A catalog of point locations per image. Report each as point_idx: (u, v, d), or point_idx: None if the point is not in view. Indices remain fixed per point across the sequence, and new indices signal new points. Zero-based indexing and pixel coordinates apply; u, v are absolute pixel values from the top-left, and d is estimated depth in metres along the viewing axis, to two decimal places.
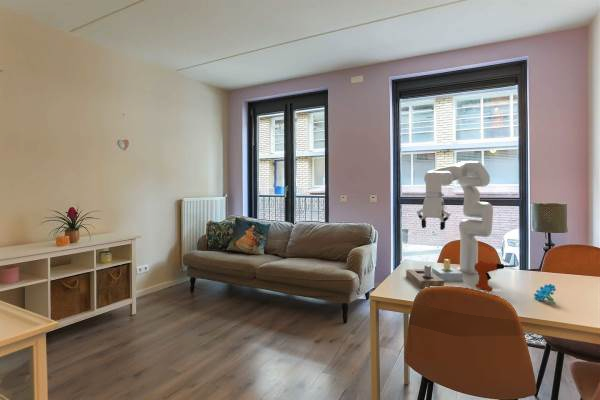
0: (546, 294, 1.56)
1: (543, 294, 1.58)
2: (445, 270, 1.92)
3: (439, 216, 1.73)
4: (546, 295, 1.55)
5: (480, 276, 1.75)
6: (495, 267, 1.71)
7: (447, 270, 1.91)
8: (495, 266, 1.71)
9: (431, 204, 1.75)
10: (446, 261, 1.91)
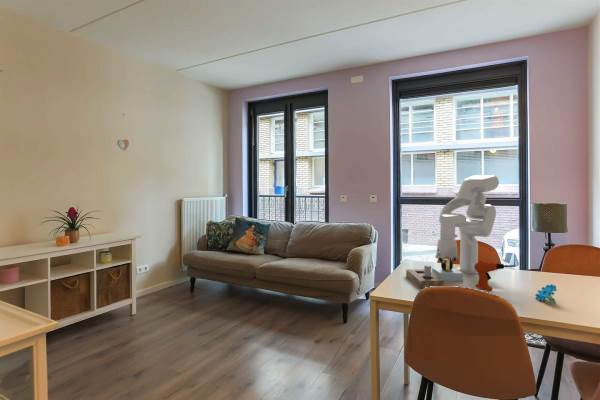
0: (547, 294, 1.56)
1: (544, 294, 1.58)
2: (445, 270, 1.92)
3: (456, 255, 1.90)
4: (547, 295, 1.55)
5: (480, 276, 1.75)
6: (495, 267, 1.71)
7: (447, 270, 1.91)
8: (495, 266, 1.71)
9: (449, 245, 1.90)
10: (446, 261, 1.91)
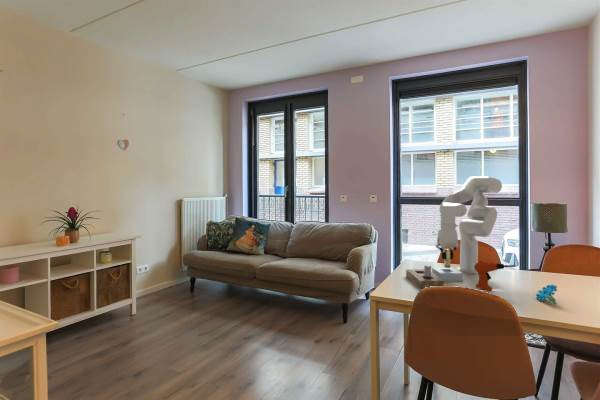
0: (547, 294, 1.56)
1: (544, 294, 1.57)
2: (445, 260, 1.92)
3: (456, 245, 1.90)
4: (547, 295, 1.55)
5: (480, 276, 1.75)
6: (495, 267, 1.71)
7: (447, 260, 1.91)
8: (495, 266, 1.71)
9: (450, 234, 1.89)
10: (446, 251, 1.91)
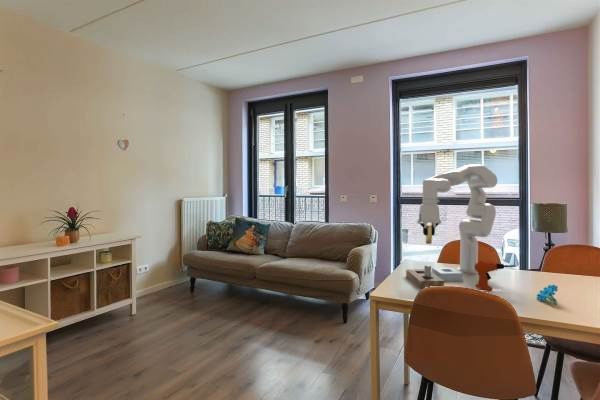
0: (548, 294, 1.56)
1: (545, 294, 1.57)
2: (427, 236, 1.88)
3: (438, 220, 1.87)
4: (547, 295, 1.55)
5: (480, 276, 1.75)
6: (495, 267, 1.71)
7: (429, 235, 1.88)
8: (495, 266, 1.71)
9: (431, 210, 1.86)
10: (428, 226, 1.87)
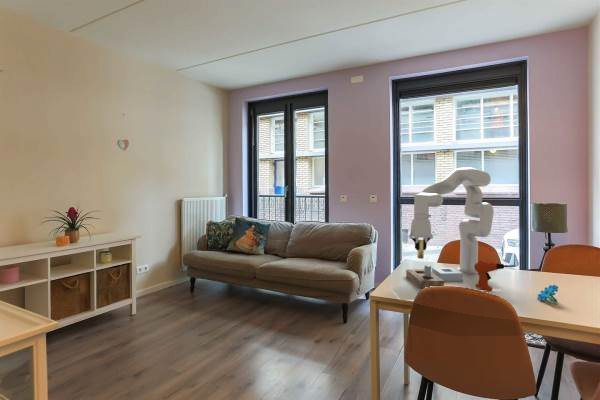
0: (548, 294, 1.56)
1: (545, 294, 1.57)
2: (419, 250, 1.88)
3: (429, 235, 1.86)
4: (548, 295, 1.55)
5: (480, 276, 1.75)
6: (495, 267, 1.71)
7: (421, 250, 1.87)
8: (495, 266, 1.71)
9: (423, 224, 1.85)
10: (420, 241, 1.87)
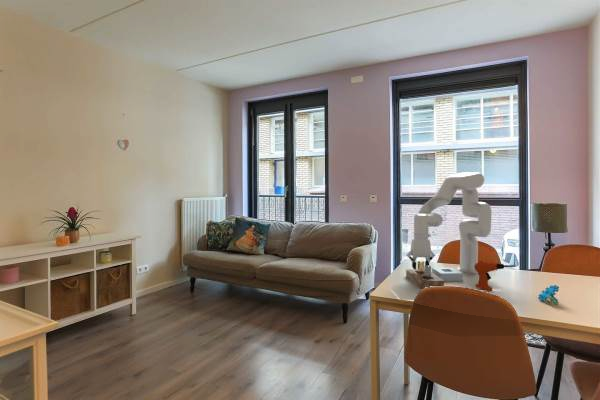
0: (548, 294, 1.56)
1: (546, 294, 1.57)
2: (419, 272, 1.89)
3: (429, 255, 1.87)
4: (548, 295, 1.55)
5: (480, 276, 1.75)
6: (495, 267, 1.71)
7: (421, 272, 1.88)
8: (495, 266, 1.71)
9: (423, 245, 1.86)
10: (419, 263, 1.88)
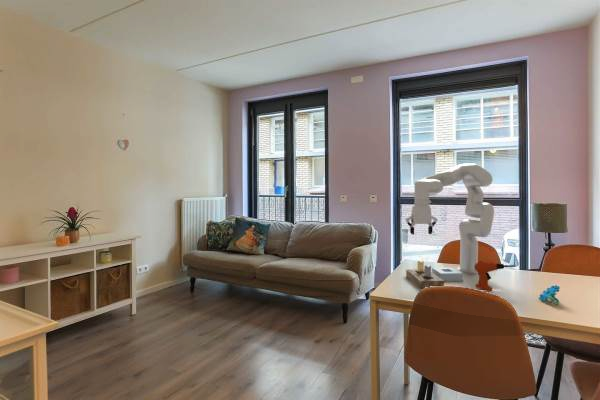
0: (549, 294, 1.55)
1: (547, 294, 1.57)
2: (419, 272, 1.89)
3: (430, 222, 1.86)
4: (548, 295, 1.55)
5: (480, 276, 1.75)
6: (495, 267, 1.71)
7: (420, 272, 1.88)
8: (495, 266, 1.71)
9: (423, 211, 1.85)
10: (419, 263, 1.88)
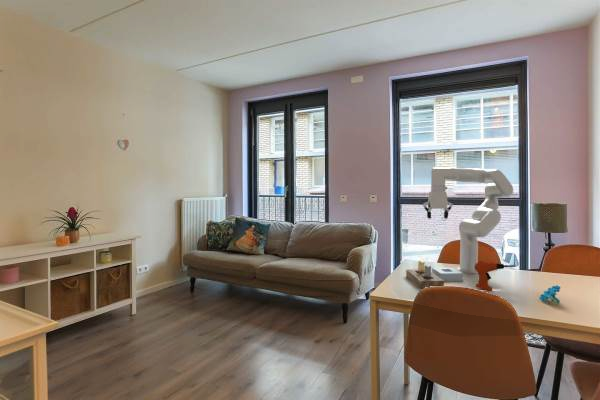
0: (549, 295, 1.55)
1: (547, 295, 1.57)
2: (419, 272, 1.88)
3: (446, 206, 1.98)
4: (549, 295, 1.55)
5: (480, 276, 1.75)
6: (495, 267, 1.71)
7: (421, 272, 1.88)
8: (495, 266, 1.71)
9: (440, 196, 1.97)
10: (420, 263, 1.88)
